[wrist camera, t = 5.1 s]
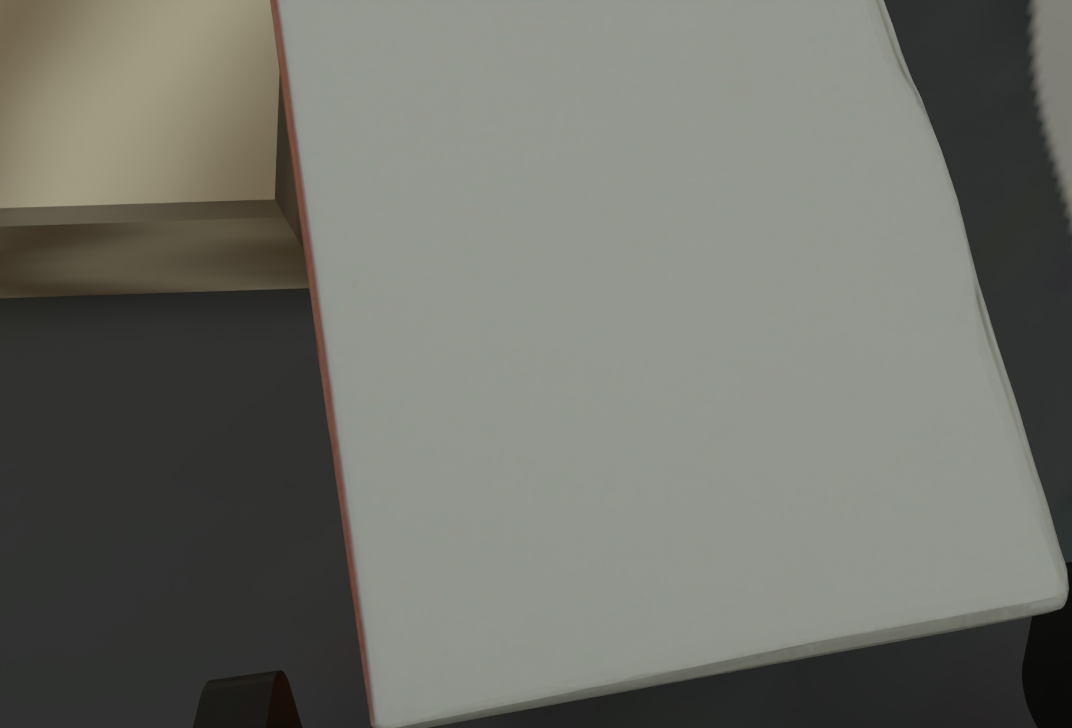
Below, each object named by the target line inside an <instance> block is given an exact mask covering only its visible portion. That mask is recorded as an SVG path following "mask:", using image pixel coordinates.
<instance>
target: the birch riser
mask: <svg viewBox="0 0 1072 728" xmlns="http://www.w3.org/2000/svg"><path fill="white" fill-rule="evenodd" d="M297 288H309V283H308V276H307V269H306V262H305V255H304V248H303V241H302V233H301V226H300V219H299V212H298V205H297V198H296V191H295V184H294V177H293V170H292V163H291V155H290V147H289V140H288V132H287V125H286V117H285V110H284V102H283V95H282V87H281V79H280V71H279V64H278V56H277V48H276V41H275V33H274V26H273V18H272V11H271V3H270V0H0V298H22V297H53V296H83V295H114V294H144V293H175V292H205V291H236V290H266V289H297Z"/></svg>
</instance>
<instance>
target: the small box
mask: <svg viewBox="0 0 1072 728" xmlns="http://www.w3.org/2000/svg"><path fill="white" fill-rule="evenodd" d="M270 3H271V11H272V18H273V26H274V33H275V41H276V48H277V56H278V64H279V71H280V79H281V87H282V95H283V102H284V110H285V117H286V125H287V132H288V140H289V147H290V155H291V163H292V170H293V177H294V184H295V191H296V198H297V205H298V212H299V219H300V226H301V233H302V241H303V248H304V255H305V262H306V269H307V276H308V283H309V289H310V296H311V303H312V310H313V318H314V327H315V335H316V343H317V351H318V359H319V365H320V372H321V378H322V385H323V392H324V399H325V406H326V413H327V421H328V428H329V434H330V440H331V446H332V454H333V461H334V468H335V475H336V482H337V489H338V496H339V503H340V510H341V517H342V524H343V532H344V540H345V548H346V556H347V564H348V572H349V580H350V587H351V593H352V600H353V607H354V614H355V621H356V627H357V634H358V641H359V648H360V654H361V661H362V668H363V675H364V681H365V688H366V695H367V702H368V709H369V716H370V723H371V726H372V727H374V728H428V727H433V726H439V725H444V724H450V723H455V722H461V721H466V720H472V719H477V718H483V717H488V716H494V715H499V714H505V713H510V712H516V711H521V710H527V709H532V708H537V707H543V706H548V705H554V704H559V703H565V702H570V701H576V700H581V699H587V698H592V697H598V696H603V695H609V694H614V693H620V692H625V691H631V690H636V689H641V688H647V687H652V686H658V685H663V684H669V683H674V682H679V681H685V680H690V679H696V678H701V677H706V676H712V675H717V674H723V673H728V672H733V671H739V670H744V669H750V668H755V667H761V666H766V665H771V664H777V663H782V662H788V661H793V660H798V659H804V658H809V657H815V656H820V655H826V654H831V653H837V652H842V651H848V650H853V649H859V648H864V647H870V646H875V645H881V644H886V643H892V642H897V641H903V640H908V639H914V638H919V637H925V636H930V635H936V634H941V633H947V632H952V631H958V630H963V629H968V628H974V627H979V626H984V625H989V624H994V623H999V622H1004V621H1009V620H1014V619H1020V618H1025V617H1030V616H1035V615H1040V614H1045V613H1049V612H1053V611H1056V610H1059V609H1061V608H1062V607H1063V606H1064V605H1065V603H1066V601H1067V597H1068V591H1069V585H1068V575H1067V568H1066V565H1065V562H1064V559H1063V556H1062V553H1061V550H1060V547H1059V543H1058V540H1057V536H1056V533H1055V529H1054V525H1053V522H1052V518H1051V515H1050V511H1049V507H1048V504H1047V501H1046V498H1045V495H1044V492H1043V488H1042V485H1041V482H1040V479H1039V476H1038V473H1037V470H1036V467H1035V464H1034V460H1033V457H1032V454H1031V450H1030V447H1029V444H1028V440H1027V437H1026V433H1025V430H1024V427H1023V423H1022V420H1021V417H1020V413H1019V410H1018V406H1017V403H1016V400H1015V397H1014V394H1013V391H1012V388H1011V385H1010V382H1009V379H1008V376H1007V373H1006V370H1005V367H1004V364H1003V361H1002V357H1001V354H1000V351H999V348H998V345H997V342H996V338H995V335H994V332H993V328H992V325H991V322H990V318H989V315H988V312H987V308H986V305H985V302H984V299H983V296H982V292H981V289H980V286H979V283H978V279H977V275H976V272H975V268H974V264H973V260H972V256H971V252H970V248H969V244H968V240H967V236H966V232H965V228H964V224H963V220H962V216H961V212H960V208H959V204H958V200H957V197H956V194H955V191H954V188H953V185H952V182H951V179H950V176H949V173H948V169H947V166H946V163H945V160H944V157H943V154H942V151H941V149H940V146H939V144H938V141H937V139H936V136H935V133H934V131H933V128H932V126H931V123H930V120H929V118H928V115H927V112H926V110H925V107H924V104H923V102H922V99H921V97H920V95H919V93H918V91H917V89H916V87H915V85H914V83H913V81H912V78H911V76H910V73H909V70H908V68H907V65H906V63H905V60H904V58H903V55H902V53H901V50H900V46H899V43H898V40H897V37H896V34H895V31H894V28H893V25H892V23H891V20H890V17H889V14H888V11H887V9H886V6H885V3H884V0H270Z"/></svg>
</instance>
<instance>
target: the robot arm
mask: <svg viewBox="0 0 1072 728" xmlns="http://www.w3.org/2000/svg"><path fill="white" fill-rule="evenodd" d="M1065 565H1066V568H1067V575H1068V585H1069V591H1068V597H1067V601H1066V603H1065V605H1064V606H1063V607H1062V608H1061V609H1059V610H1056V611H1053V612H1049V613H1045V614H1040V615H1035V616H1032V621H1031V626H1030V631H1029V636H1028V641H1027V646H1026V651H1025V656H1024V661H1023V667H1022V683H1023V689H1024V694H1025V698H1026V702H1027V705H1028V708H1029V711H1030V713H1031V715H1032V718H1033V720H1034V722H1035V724H1036V726H1037V727H1038V728H1072V562H1067V563H1065ZM193 728H302V725H301V722H300V718H299V715H298V712H297V708H296V705H295V701H294V698H293V695H292V691H291V688H290V685H289V682H288V679H287V677H286V675H285V673H284V672H283V671H273V672H266V673H259V674H252V675H245V676H238V677H231V678H223V679H216V680H210V681H208V682H207V683H206V685H205V686H204V689H203V691H202V694H201V698H200V702H199V706H198V710H197V714H196V718H195V722H194V726H193Z"/></svg>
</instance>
